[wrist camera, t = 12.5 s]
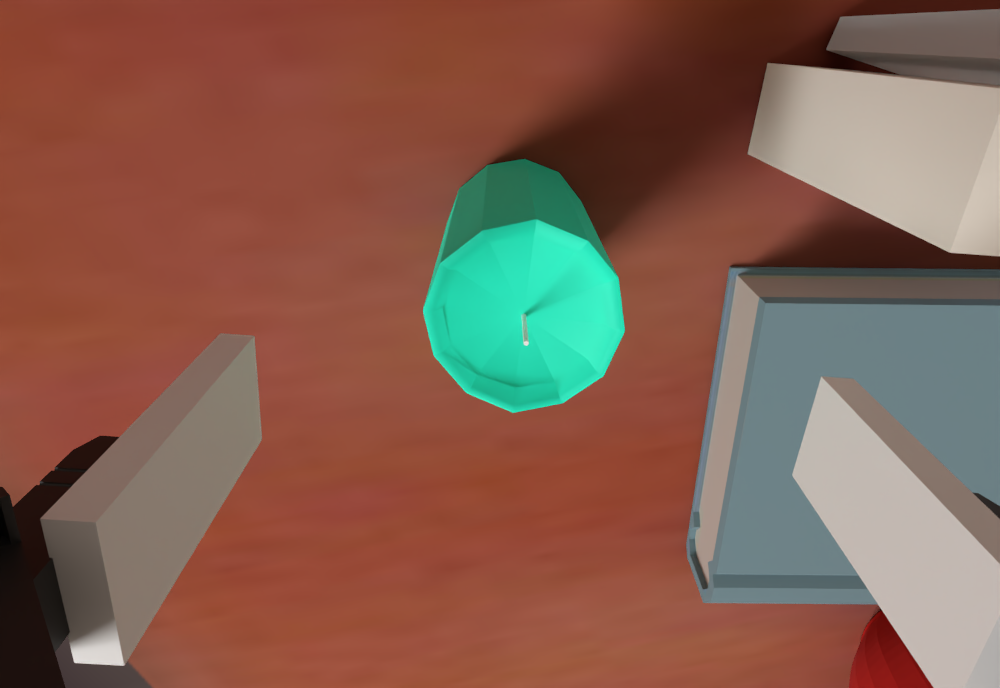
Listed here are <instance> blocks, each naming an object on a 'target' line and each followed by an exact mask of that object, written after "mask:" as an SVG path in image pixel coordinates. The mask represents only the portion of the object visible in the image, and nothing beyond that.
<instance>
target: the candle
mask: <svg viewBox="0 0 1000 688" xmlns="http://www.w3.org/2000/svg"><path fill="white" fill-rule="evenodd" d="M423 313H424V317H425V322H426V326H427V330H428V334H429V338H430V342H431V347H432V351H433V355H434V357H435V358H436V359H437V360H438V361H439V362H440V363H441V365H442V366H443V367H444V368H445V369H446V370H447V371H448V373H449V374H450V375H451V376H452V377H453V378H454V379H455V381H456V382H457V383H458V384H459V385H460V386H461V387H462V389H463V390H464V391H465V392H466V393H468V394H470V395H472V396H475V397H477V398H479V399H482V400H484V401H486V402H489V403H491V404H494V405H496V406H498V407H501V408H503V409H505V410H508V411H510V412H512V413H515V412H520V411H525V410H530V409H535V408H541V407H546V406H551V405H556V404H561V403H564V402H565V401H567V400H568V399H570V398H571V397H573V396H574V395H576V394H577V393H579V392H580V391H582V390H583V389H585V388H586V387H588V386H589V385H591V384H592V383H594V382H595V381H597V380H598V379H600V378H601V377H603V376H604V374H605V372H606V370H607V368H608V366H609V364H610V361H611V359H612V357H613V355H614V353H615V351H616V349H617V347H618V345H619V342H620V340H621V338H622V336H623V334H624V332H625V327H624V319H623V311H622V303H621V294H620V286H619V278H618V276H617V274H616V272H615V270H614V268H613V266H612V264H611V262H610V260H609V257H608V255H607V253H606V251H605V249H604V247H603V245H602V243H601V241H600V239H599V237H598V235H597V233H596V231H595V229H594V227H593V224H592V222H591V220H590V218H589V216H588V214H587V212H586V210H585V208H584V206H583V204H582V202H581V200H580V199H579V198H578V196H577V195H576V194H575V192H574V191H573V190H572V188H571V187H570V186H569V185H568V183H567V182H566V181H565V179H564V178H563V177H562V175H561V174H560V173H559V172H557V171H554V170H552V169H549V168H547V167H544V166H542V165H539V164H537V163H534V162H532V161H529V160H526V159H520V160H514V161H508V162H502V163H496V164H490V165H487V166H486V167H485V168H483V169H482V170H481V171H480V172H479V173H477V174H476V175H475V176H474V177H473V178H471V179H470V180H469V181H468V182H467V183H465V184H464V185H463V186H462V187H461V188H459V191H458V194H457V197H456V199H455V202H454V205H453V208H452V211H451V213H450V216H449V219H448V222H447V225H446V229H445V233H444V236H443V240H442V243H441V247H440V251H439V254H438V258H437V261H436V265H435V269H434V272H433V276H432V279H431V283H430V286H429V290H428V294H427V297H426V301H425V304H424V308H423Z"/></svg>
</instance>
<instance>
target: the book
mask: <svg viewBox="0 0 1000 688" xmlns="http://www.w3.org/2000/svg"><path fill="white" fill-rule="evenodd" d="M821 376H822V377H836V378H850V379H854V380H855V381H856V382H858V383H859V384H860V385H861V386H862V387H863V388H864V389H865V390H866V391H867V392H868V393H869V394H870V395H871V396H872V397H873V398H874V399H875V400H876V401H877V402H878V403H879V404H880V405H881V406H883V407H884V408H885V409H886V410H887V411H888V412H889V413H890V414H891V415H892V416H893V417H894V418H895V419H896V420H897V421H898V422H899V423H900V424H901V425H902V426H903V427H904V428H905V429H906V430H908V431H909V432H910V433H911V434H912V435H913V436H914V437H915V438H916V439H917V440H918V441H919V442H920V443H921V444H922V445H923V446H924V447H925V448H926V449H927V450H928V451H929V452H930V453H931V454H932V455H934V456H935V457H936V458H937V459H938V460H939V461H940V462H941V463H942V464H943V465H944V466H945V467H946V468H947V469H948V470H949V471H950V472H951V473H952V474H953V475H954V476H955V477H956V478H957V479H959V480H960V481H961V482H962V483H963V484H964V485H965V486H966V487H967V488H968V489H969V490H970V491H971V492H972V493H979V494H981V495H982V496H984V497H986V498H987V499H989V500H990V501H992V502H994V503H995V504H997V505H999V506H1000V269H917V268H820V267H729V274H728V280H727V286H726V293H725V299H724V306H723V312H722V319H721V325H720V331H719V338H718V344H717V351H716V357H715V364H714V370H713V376H712V383H711V389H710V396H709V402H708V409H707V415H706V421H705V428H704V434H703V441H702V447H701V454H700V460H699V466H698V473H697V479H696V486H695V492H694V499H693V505H692V511H691V518H690V524H689V531H688V537H687V544H686V547H687V558H688V561H689V564H690V566H691V569H692V572H693V575H694V578H695V580H696V583H697V586H698V589H699V592H700V594H701V597H702V600H703V603H777V604H877V602H876V601H875V599H874V598H873V596H872V595H871V593H870V592H869V590H868V589H867V587H866V586H865V584H864V583H863V581H862V580H861V578H860V577H859V575H858V574H857V572H856V571H855V569H854V568H853V566H852V565H851V563H850V562H849V560H848V559H847V557H846V556H845V554H844V553H843V551H842V550H841V548H840V547H839V545H838V544H837V542H836V541H835V539H834V538H833V536H832V535H831V533H830V532H829V530H828V529H827V527H826V526H825V524H824V523H823V521H822V520H821V518H820V517H819V515H818V514H817V512H816V511H815V509H814V508H813V506H812V505H811V503H810V502H809V500H808V499H807V497H806V496H805V494H804V493H803V491H802V490H801V488H800V487H799V485H798V484H797V482H796V481H795V479H794V478H793V476H792V474H793V470H794V467H795V464H796V460H797V457H798V453H799V450H800V447H801V443H802V440H803V437H804V433H805V430H806V426H807V423H808V420H809V416H810V413H811V410H812V406H813V403H814V399H815V396H816V393H817V389H818V386H819V382H820V379H821Z"/></svg>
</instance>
